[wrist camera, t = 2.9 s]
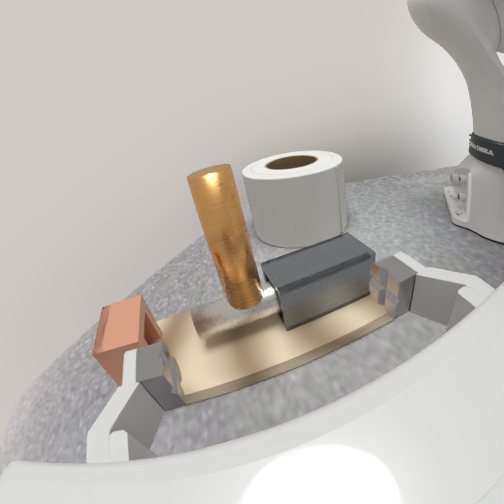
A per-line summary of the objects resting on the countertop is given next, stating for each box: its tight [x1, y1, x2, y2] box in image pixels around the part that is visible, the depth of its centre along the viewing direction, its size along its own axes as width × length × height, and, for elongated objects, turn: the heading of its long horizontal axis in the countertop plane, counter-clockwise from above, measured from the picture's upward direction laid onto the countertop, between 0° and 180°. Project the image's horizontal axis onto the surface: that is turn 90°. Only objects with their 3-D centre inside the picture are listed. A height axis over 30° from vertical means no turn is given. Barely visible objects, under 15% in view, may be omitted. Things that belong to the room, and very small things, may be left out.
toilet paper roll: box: [242, 151, 348, 248], centre depth 43 cm, size 16×15×11 cm
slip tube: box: [187, 164, 282, 340], centre depth 23 cm, size 16×3×14 cm, turn 106°
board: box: [118, 294, 393, 410], centre depth 26 cm, size 27×11×2 cm, turn 106°
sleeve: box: [261, 232, 375, 331], centre depth 26 cm, size 10×5×5 cm, turn 106°
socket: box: [92, 295, 163, 386], centre depth 23 cm, size 4×7×5 cm
